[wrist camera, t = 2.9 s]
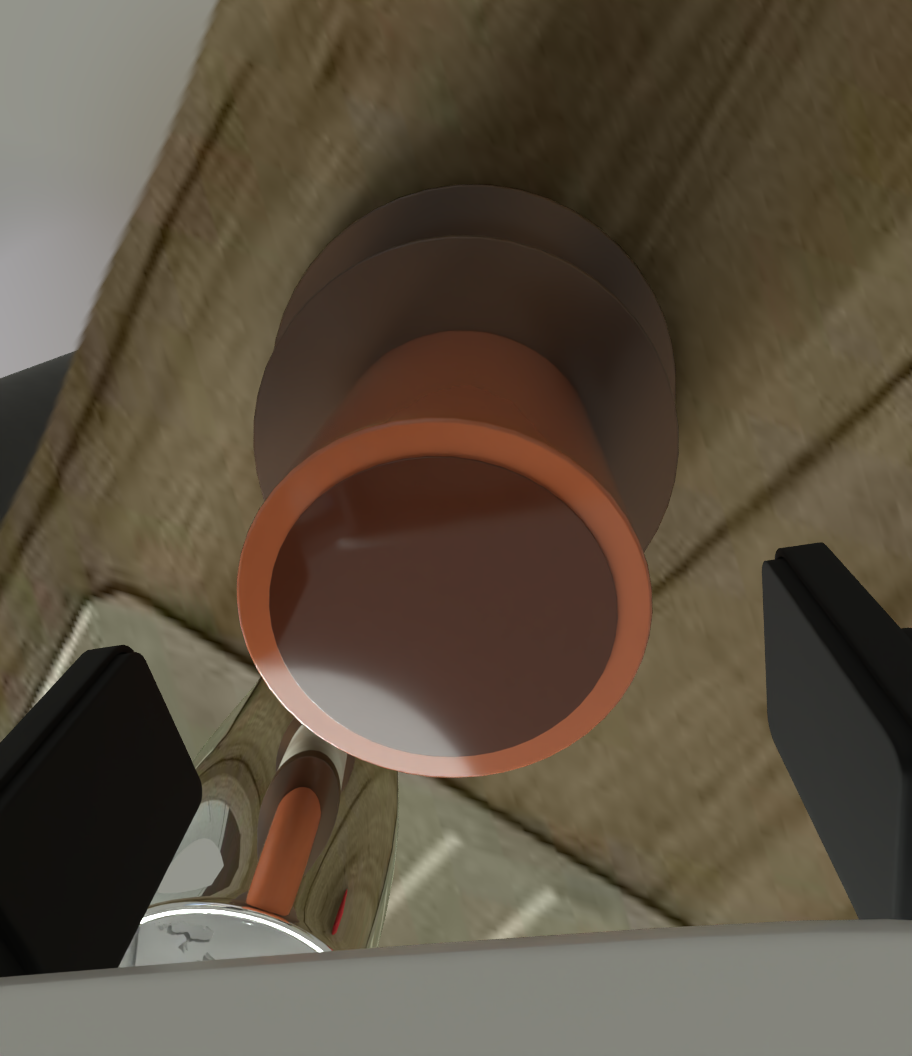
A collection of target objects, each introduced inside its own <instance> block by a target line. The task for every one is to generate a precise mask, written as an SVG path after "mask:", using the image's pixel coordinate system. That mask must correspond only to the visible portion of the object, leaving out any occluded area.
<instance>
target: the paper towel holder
mask: <svg viewBox="0 0 912 1056" xmlns="http://www.w3.org/2000/svg"><path fill="white" fill-rule="evenodd" d="M453 330H467V331H479V332H486V333H492V334H496V335H499V336H503V337H506V338H509V339H512V340H514V341H516V342H519V343H521V344H523V345H525V346H527V347H529V348H531V349H532V350H534V351H536V352H537V353H539V354H540V355H542V356H543V357H544V358H546V359H547V360H548V361H549V362H551V363H552V364H553V365H554V366H556V367H557V368H558V370H559V371H560V372H561V373H562V374H563V375H564V376H565V377H566V378H567V379H568V380H569V382H570V383H571V385H572V386H573V387H574V389H575V390H576V392H577V393H578V395H579V396H580V398H581V400H582V402H583V404H584V406H585V408H586V410H587V413H588V415H589V418H590V420H591V422H592V425H593V427H594V430H595V432H596V435H597V437H598V440H599V442H600V445H601V447H602V449H603V452H604V454H605V457H606V459H607V462H608V464H609V467H610V469H611V472H612V474H613V476H614V479H615V481H616V484H617V486H618V489H619V491H620V494H621V496H622V499H623V501H624V503H625V506H626V508H627V511H628V513H629V516H630V518H631V521H632V523H633V526H634V528H635V531H636V533H637V535H638V538H639V540H640V543H641V546H642V549H643V552H645V550H646V548H647V547H648V545H649V543H650V542H651V540H652V538H653V537H654V535H655V533H656V532H657V530H658V528H659V525H660V523H661V521H662V518H663V516H664V514H665V511H666V509H667V507H668V504H669V500H670V497H671V493H672V489H673V486H674V482H675V477H676V469H677V462H678V455H679V439H678V420H677V414H676V407H675V400H676V369H675V362H674V355H673V348H672V342H671V338H670V335H669V332H668V328H667V325H666V321H665V318H664V315H663V313H662V311H661V308H660V306H659V304H658V302H657V300H656V297H655V295H654V293H653V291H652V289H651V288H650V286H649V284H648V283H647V281H646V280H645V278H644V276H643V275H642V273H641V272H640V270H639V269H638V267H637V266H636V265H635V263H634V262H633V261H632V260H631V259H630V258H629V256H628V255H627V254H626V253H625V252H624V251H623V249H622V248H621V247H620V246H619V245H618V244H617V243H616V242H615V241H614V240H613V239H611V238H610V237H609V236H608V235H607V234H606V233H605V232H603V231H602V230H601V229H600V228H599V227H598V226H597V225H595V224H593V223H592V222H590V221H589V220H587V219H586V218H584V217H583V216H581V215H580V214H578V213H577V212H575V211H574V210H572V209H570V208H568V207H565V206H563V205H561V204H559V203H557V202H555V201H552V200H550V199H548V198H546V197H543V196H540V195H536V194H533V193H529V192H526V191H523V190H519V189H515V188H508V187H501V186H495V185H488V184H457V185H451V186H444V187H437V188H430V189H426V190H422V191H419V192H416V193H412V194H409V195H406V196H402V197H399V198H397V199H395V200H393V201H391V202H389V203H386V204H384V205H382V206H380V207H378V208H376V209H374V210H372V211H370V212H369V213H367V214H366V215H364V216H363V217H361V218H360V219H358V220H357V221H355V222H354V223H352V224H351V225H349V226H348V227H347V228H346V229H345V230H343V231H342V232H341V233H340V234H339V235H338V236H337V237H335V238H334V239H333V240H332V241H331V242H330V243H329V244H328V245H327V246H326V247H325V248H324V249H323V250H322V252H321V253H320V254H319V255H318V256H317V257H316V259H315V260H314V261H313V262H312V263H311V264H310V266H309V267H308V269H307V270H306V272H305V273H304V275H303V277H302V278H301V280H300V281H299V283H298V284H297V286H296V288H295V289H294V291H293V294H292V296H291V298H290V300H289V302H288V305H287V307H286V309H285V311H284V313H283V317H282V320H281V323H280V327H279V330H278V333H277V337H276V340H275V347H274V351H273V353H272V355H271V357H270V359H269V361H268V364H267V366H266V368H265V371H264V375H263V378H262V381H261V385H260V388H259V392H258V396H257V402H256V409H255V416H254V444H253V447H254V455H255V463H256V471H257V476H258V480H259V484H260V487H261V491H262V495H263V499H264V501H265V500H266V498H267V497H268V496H269V494H270V493H271V491H272V490H273V489H274V487H275V486H276V485H277V483H278V482H279V481H280V479H281V478H282V477H283V476H284V474H285V473H286V472H287V470H288V469H289V468H290V466H291V465H292V464H293V463H294V461H295V460H296V459H297V457H298V456H299V455H300V454H301V452H302V451H303V450H304V448H305V447H306V446H307V444H308V443H309V442H310V441H311V439H312V438H313V437H314V435H315V434H316V433H317V431H318V430H319V429H320V428H321V426H322V425H323V424H324V422H325V421H326V420H327V418H328V417H329V416H330V415H331V413H332V412H333V411H334V409H335V408H336V407H337V406H338V404H339V403H340V402H341V400H342V399H343V398H344V396H345V395H346V394H347V393H348V391H349V390H350V389H351V387H352V386H353V385H354V383H355V382H356V381H357V380H358V378H359V377H360V376H361V375H362V374H363V373H364V372H365V371H366V370H367V369H368V368H369V367H370V365H371V364H373V363H374V362H375V361H377V360H378V359H379V358H380V357H382V356H383V355H384V354H385V353H387V352H389V351H390V350H392V349H394V348H396V347H397V346H399V345H401V344H403V343H405V342H408V341H410V340H413V339H415V338H417V337H421V336H425V335H429V334H432V333H437V332H445V331H453Z"/></svg>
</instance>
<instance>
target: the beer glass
mask: <svg viewBox="0 0 912 1056" xmlns="http://www.w3.org/2000/svg"><path fill="white" fill-rule="evenodd" d="M192 763H193V765H194V767H195V769H196V771H197V773H198V776H199V778H200V780H201V784H202V800H201V803H200V806H199V808H198V810H197V812H196V814H195V816H194V818H193V820H192V822H191V824H190V826H189V828H188V830H187V832H186V834H185V836H184V838H183V840H182V842H181V844H180V846H179V848H178V850H177V852H176V854H175V856H174V858H173V860H172V862H171V864H170V866H169V868H168V870H167V872H166V874H165V876H164V878H163V880H162V882H161V884H160V886H159V888H158V889H157V891H156V893H155V895H154V897H153V899H152V901H151V903H150V905H149V907H148V909H147V911H146V913H145V915H144V917H143V919H142V921H141V923H140V925H139V927H138V929H137V931H136V933H135V935H134V937H133V939H132V941H131V943H130V945H129V947H128V949H127V951H126V953H125V955H124V957H123V959H122V961H121V963H120V965H119V967H118V968H121V967H133V966H145V965H158V964H170V963H182V962H195V961H208V960H221V959H234V958H247V957H260V956H274V955H287V954H300V953H313V952H326V951H340V950H353V949H367V948H378V946H379V941H380V937H381V933H382V929H383V925H384V920H385V916H386V911H387V906H388V900H389V895H390V890H391V885H392V880H393V874H394V866H395V857H396V849H397V840H398V828H399V786H398V771H395V770H391V769H387V768H383V767H380V766H377V765H374V764H372V763H369V762H366V761H363V760H360V759H358V758H356V757H354V756H352V755H350V754H348V753H346V752H344V751H342V750H339V749H338V748H336V747H335V746H333V745H331V744H330V743H328V742H326V741H325V740H323V739H321V738H320V737H318V736H317V735H316V734H314V733H313V732H312V731H311V730H309V729H308V728H307V727H305V726H304V725H303V724H301V723H300V722H299V721H298V720H297V719H296V718H295V717H294V716H293V715H292V714H291V713H290V712H289V711H288V710H287V709H286V708H285V707H284V706H283V705H282V704H281V703H280V701H279V700H278V699H277V698H276V696H275V695H274V694H273V693H272V691H271V690H270V689H269V688H268V686H267V684H266V683H265V681H264V680H263V678H262V676H261V677H260V679H259V680H258V681H257V682H256V684H255V685H254V686H253V687H252V689H251V690H250V691H249V692H248V694H247V695H246V696H245V697H244V698H243V699H242V700H241V702H240V703H239V704H238V705H237V706H236V707H235V708H234V710H233V711H232V712H231V713H230V714H229V716H228V717H227V718H226V719H225V720H224V721H223V723H222V724H221V725H220V726H219V727H218V729H217V730H216V731H215V732H214V733H213V735H212V736H211V737H210V738H209V740H208V741H207V742H206V744H205V745H204V746H203V748H202V749H201V750H200V752H199V753H198V754H197V756H196V757H195V758H194V760H193V761H192Z"/></svg>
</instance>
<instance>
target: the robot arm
mask: <svg viewBox="0 0 912 1056" xmlns="http://www.w3.org/2000/svg"><path fill="white" fill-rule="evenodd" d="M762 584H763V610H764V636H765V662H766V688H767V714H768V722H769V727H770V731H771V735H772V738H773V741H774V743H775V745H776V747H777V749H778V751H779V753H780V756H781V758H782V760H783V762H784V764H785V766H786V768H787V770H788V772H789V774H790V776H791V778H792V780H793V783H794V785H795V787H796V789H797V791H798V793H799V795H800V797H801V799H802V801H803V803H804V805H805V808H806V810H807V812H808V814H809V816H810V818H811V820H812V822H813V824H814V826H815V828H816V830H817V832H818V835H819V837H820V839H821V841H822V843H823V845H824V847H825V849H826V851H827V853H828V855H829V857H830V859H831V862H832V864H833V866H834V868H835V870H836V872H837V874H838V876H839V878H840V880H841V882H842V884H843V886H844V889H845V891H846V893H847V895H848V897H849V899H850V901H851V903H852V905H853V907H854V909H855V911H856V914H857V916H858V918H859V920H803V921H783V922H764V923H745V924H726V925H708V926H689V927H670V928H651V929H636V930H622V931H607V932H593V933H579V934H564V935H550V936H535V937H521V938H506V939H492V940H478V941H463V942H449V943H434V944H421V945H407V946H394V947H380V948H367V949H353V950H340V951H326V952H313V953H300V954H287V955H274V956H260V957H247V958H234V959H221V960H208V961H195V962H182V963H170V964H158V965H145V966H133V967H121V968H118V967H119V965H120V963H121V961H122V959H123V957H124V955H125V953H126V951H127V949H128V947H129V945H130V943H131V941H132V939H133V937H134V935H135V933H136V931H137V929H138V927H139V925H140V923H141V921H142V919H143V917H144V915H145V913H146V911H147V909H148V907H149V905H150V903H151V901H152V899H153V897H154V895H155V893H156V891H157V889H158V888H159V886H160V884H161V882H162V880H163V878H164V876H165V874H166V872H167V870H168V868H169V866H170V864H171V862H172V860H173V858H174V856H175V854H176V852H177V850H178V848H179V846H180V844H181V842H182V840H183V838H184V836H185V834H186V832H187V830H188V828H189V826H190V824H191V822H192V820H193V818H194V816H195V814H196V812H197V810H198V808H199V806H200V803H201V800H202V784H201V780H200V778H199V776H198V773H197V771H196V769H195V767H194V765H193V763H192V760H191V758H190V756H189V754H188V752H187V750H186V747H185V745H184V743H183V741H182V739H181V736H180V734H179V732H178V730H177V728H176V726H175V723H174V721H173V719H172V717H171V715H170V713H169V710H168V708H167V706H166V704H165V702H164V699H163V697H162V695H161V693H160V691H159V689H158V686H157V684H156V682H155V680H154V678H153V676H152V673H151V671H150V669H149V667H148V665H147V662H146V660H145V659H144V657H143V656H142V655H141V654H140V653H137V652H134V651H133V650H132V649H131V648H130V647H129V646H126V645H119V646H112V647H105V648H98V649H92V650H87V651H86V652H84V653H83V654H82V655H81V656H80V657H79V658H78V659H77V660H76V661H75V663H74V664H73V665H72V666H71V667H70V668H69V669H68V670H67V671H66V672H65V673H64V674H63V676H62V677H61V678H60V679H59V680H58V681H57V682H56V683H55V684H54V685H53V686H52V687H51V688H50V690H49V691H48V692H47V693H46V694H45V695H44V696H43V697H42V698H41V699H40V700H39V701H38V703H37V704H36V705H35V706H34V707H33V708H32V709H31V710H30V711H29V712H28V713H27V714H26V716H25V717H24V718H23V719H22V720H21V721H20V722H19V723H18V724H17V725H16V726H15V727H14V729H13V730H12V731H11V732H10V733H9V734H8V735H7V736H6V737H5V738H4V739H3V740H2V742H1V743H0V1056H912V628H902V629H901V628H900V627H899V626H898V625H897V624H896V623H895V622H894V620H893V619H892V618H891V617H890V616H889V615H888V614H887V613H886V612H885V610H884V609H883V608H882V607H881V606H880V605H879V604H878V603H877V602H876V600H875V599H874V598H873V597H872V596H871V595H870V594H869V593H868V591H867V590H866V589H865V588H864V587H863V586H862V585H861V584H860V583H859V581H858V580H857V579H856V578H855V577H854V576H853V575H852V574H851V573H850V571H849V570H848V569H847V568H846V567H845V566H844V565H843V564H842V562H841V561H840V560H839V559H838V558H837V557H836V556H835V555H834V554H833V552H832V551H831V550H830V549H829V548H828V547H827V546H826V545H825V544H824V543H813V544H806V545H799V546H793V547H786V548H779V549H778V550H777V551H776V554H775V560H769V561H764V563H763V566H762Z"/></svg>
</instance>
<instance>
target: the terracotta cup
mask: <svg viewBox="0 0 912 1056" xmlns="http://www.w3.org/2000/svg"><path fill="white" fill-rule="evenodd" d="M237 605H238V612H239V619H240V625H241V629H242V632H243V635H244V639H245V642H246V646H247V648H248V651H249V653H250V655H251V657H252V659H253V662H254V664H255V666H256V668H257V670H258V672H259V673H260V675H261V676H262V678H263V680H264V681H265V683H266V684H267V686H268V688H269V689H270V690H271V691H272V693H273V694H274V695H275V696H276V698H277V699H278V700H279V701H280V703H281V704H282V705H283V706H284V707H285V708H286V709H287V710H288V711H289V712H290V713H291V714H292V715H293V716H294V717H295V718H296V719H297V720H298V721H299V722H300V723H301V724H303V725H304V726H305V727H307V728H308V729H309V730H311V731H312V732H313V733H314V734H316V735H317V736H318V737H320V738H321V739H323V740H325V741H326V742H328V743H330V744H331V745H333V746H335V747H336V748H338V749H339V750H342V751H344V752H346V753H348V754H350V755H352V756H354V757H356V758H358V759H360V760H363V761H366V762H369V763H372V764H374V765H377V766H380V767H383V768H387V769H391V770H395V771H399V772H403V773H407V774H414V775H421V776H428V777H446V778H461V777H478V776H485V775H491V774H497V773H503V772H507V771H510V770H514V769H518V768H521V767H525V766H528V765H530V764H533V763H535V762H538V761H540V760H543V759H545V758H548V757H550V756H552V755H554V754H555V753H557V752H559V751H561V750H563V749H565V748H567V747H569V746H570V745H571V744H573V743H574V742H576V741H577V740H579V739H580V738H582V737H583V736H584V735H586V734H587V733H589V732H590V731H591V730H592V729H593V728H594V727H595V726H596V725H597V724H599V723H600V722H601V721H602V720H603V719H604V718H605V717H606V716H607V715H608V714H609V713H610V711H611V710H612V709H613V708H614V707H615V706H616V704H617V703H618V702H619V701H620V700H621V698H622V696H623V695H624V693H625V692H626V690H627V689H628V687H629V686H630V684H631V683H632V681H633V679H634V677H635V675H636V672H637V670H638V668H639V666H640V664H641V662H642V659H643V656H644V653H645V650H646V646H647V643H648V639H649V636H650V628H651V621H652V613H653V610H652V586H651V580H650V574H649V569H648V564H647V561H646V558H645V555H644V552H643V549H642V546H641V543H640V540H639V538H638V535H637V533H636V531H635V528H634V526H633V523H632V521H631V518H630V516H629V513H628V511H627V508H626V506H625V503H624V501H623V499H622V496H621V494H620V491H619V489H618V486H617V484H616V481H615V479H614V476H613V474H612V472H611V469H610V467H609V464H608V462H607V459H606V457H605V454H604V452H603V449H602V447H601V445H600V442H599V440H598V437H597V435H596V432H595V430H594V427H593V425H592V422H591V420H590V418H589V415H588V413H587V410H586V408H585V406H584V404H583V402H582V400H581V398H580V396H579V395H578V393H577V392H576V390H575V389H574V387H573V386H572V385H571V383H570V382H569V380H568V379H567V378H566V377H565V376H564V375H563V374H562V373H561V372H560V371H559V370H558V368H557V367H556V366H554V365H553V364H552V363H551V362H549V361H548V360H547V359H546V358H544V357H543V356H542V355H540V354H539V353H537V352H536V351H534V350H532V349H531V348H529V347H527V346H525V345H523V344H521V343H519V342H516V341H514V340H512V339H509V338H506V337H503V336H499V335H496V334H492V333H486V332H479V331H467V330H453V331H445V332H437V333H432V334H429V335H425V336H421V337H417V338H415V339H413V340H410V341H408V342H405V343H403V344H401V345H399V346H397V347H396V348H394V349H392V350H390V351H389V352H387V353H385V354H384V355H383V356H382V357H380V358H379V359H378V360H377V361H375V362H374V363H373V364H371V365H370V367H369V368H368V369H367V370H366V371H365V372H364V373H363V374H362V375H361V376H360V377H359V378H358V380H357V381H356V382H355V383H354V385H353V386H352V387H351V389H350V390H349V391H348V393H347V394H346V395H345V396H344V398H343V399H342V400H341V402H340V403H339V404H338V406H337V407H336V408H335V409H334V411H333V412H332V413H331V415H330V416H329V417H328V418H327V420H326V421H325V422H324V424H323V425H322V426H321V428H320V429H319V430H318V431H317V433H316V434H315V435H314V437H313V438H312V439H311V441H310V442H309V443H308V444H307V446H306V447H305V448H304V450H303V451H302V452H301V454H300V455H299V456H298V457H297V459H296V460H295V461H294V463H293V464H292V465H291V466H290V468H289V469H288V470H287V472H286V473H285V474H284V476H283V477H282V478H281V479H280V481H279V482H278V483H277V485H276V486H275V487H274V489H273V490H272V491H271V493H270V494H269V496H268V497H267V498H266V500H265V501H264V503H263V504H262V505H261V507H260V508H259V510H258V512H257V514H256V516H255V518H254V520H253V522H252V524H251V526H250V528H249V530H248V533H247V536H246V539H245V542H244V545H243V548H242V551H241V555H240V561H239V568H238V574H237Z"/></svg>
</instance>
